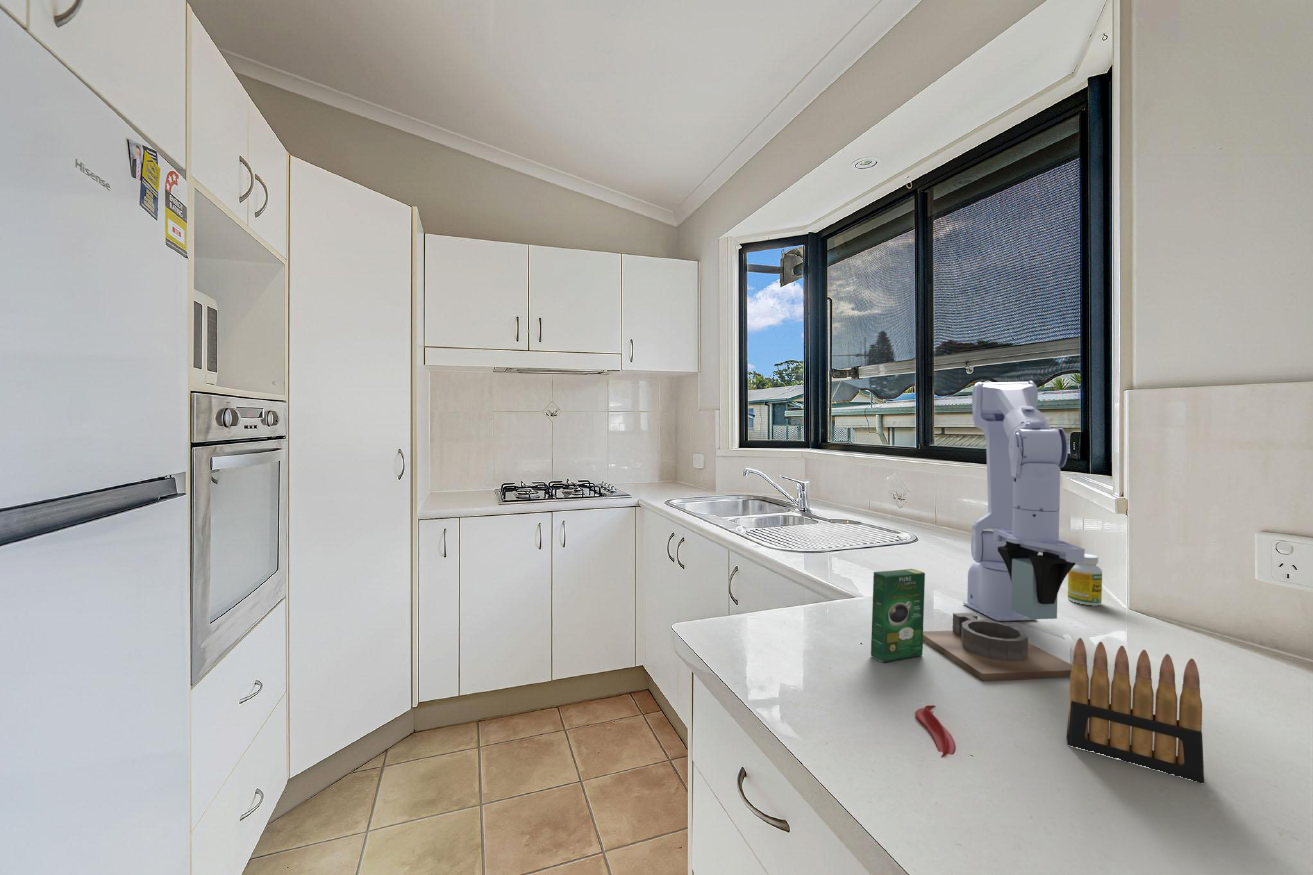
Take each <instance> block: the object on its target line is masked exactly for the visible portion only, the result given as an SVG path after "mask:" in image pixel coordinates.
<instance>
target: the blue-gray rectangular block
mask: <svg viewBox="0 0 1313 875" xmlns="http://www.w3.org/2000/svg"><path fill="white" fill-rule="evenodd" d="M1011 610H1012V611H1014V612H1017V613H1019V614H1021V615H1023V616H1025V617H1028V618H1030V619H1037V620H1048V619H1049V620H1053V619H1054V620H1055V619H1056V620H1057V619H1058V596H1057V597H1056V600H1055V603H1054V604H1040V603H1039V602H1038V598H1037V591H1036V577H1035V572H1034V569H1033V566H1032V563H1031V561H1030V559H1029V558H1015V559H1012V585H1011Z"/></svg>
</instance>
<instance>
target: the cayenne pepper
mask: <svg viewBox="0 0 1313 875" xmlns="http://www.w3.org/2000/svg"><path fill="white" fill-rule="evenodd" d="M935 707H936V705H934V704H933V705H925V706H924V707H921V708H918V709H917V710H916V711H914V714H915V718H916V719H917V721H918V722H919V723H920V724H921V725H922V726H923V727H924V728H925V730H927V731H928V733H929V734H930V735H931V737H932V740H933V741H934V744H935V746H936V748H937V751H938V752H939V753H942V754H941V756H940V758H943V757H945V756H947V755H951V756H953V755H954V754H955V750H956V742H955V740H954V738H953V736H952V734H951V733H950V732H949V731H948V729H947V728H946V727H944V726H943V724H942V723H941V722H940V720H939V719H938V718H937V717H936V716H935V715H934V711H933V710H932V709H935Z"/></svg>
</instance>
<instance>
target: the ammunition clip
mask: <svg viewBox="0 0 1313 875" xmlns="http://www.w3.org/2000/svg"><path fill="white" fill-rule="evenodd" d="M1105 647H1106V646H1105V645H1104V643H1103V642H1102V641H1099V642H1098V643H1097V645H1096V647H1095V651H1094V656H1093V662H1092V664H1093V665H1092V672H1091V675H1090V678H1089V674H1088V660H1087V657H1088V656H1087V649H1086V646H1085V642H1084V640H1083V638H1082V637H1079V638H1078V639H1077V641H1076V643H1075V645H1074V649H1073V653H1072V655H1073V656H1072V671H1071V674H1070V677H1069V697H1068V698H1069V702H1068V717H1067V727H1066V729H1067V730H1066V744H1067V746H1069V745H1070V746H1073V747H1078V748H1081V749H1085V750H1088V751H1094V752H1095V753H1100V754H1104V755H1106V756H1110V757H1113V758H1119V759H1121V760H1123V761H1126V762H1131V763H1135V764H1138V765H1142V766H1146V767H1149V768H1151V769H1155V770H1160V771H1163V772H1166V773H1168V774H1167V775H1169V774H1174V775H1175V776H1174V777H1176V776H1181V777H1183V778H1187V779H1191V780H1193V781H1192V782H1194V781H1197V782H1196V783H1198V782H1199V784H1201V783H1203V784H1205V768H1204V766H1205V765H1204V747H1203V746H1204V742H1203V730H1202V729H1203V701H1202V698H1201V688H1200V686H1201V685H1200V684H1201V683H1200V682H1201V680H1200V673H1199V668H1198V665H1197V663H1196V661H1195V659H1194V658H1190V659H1188V661H1187V663H1186V665H1185V667H1184V671H1183V677H1182V678H1183V679H1182V680H1183V681H1182V684H1181V686H1182V687H1181V694H1180V695H1179V696H1180V697H1179V706H1178V694H1177V689H1176V688H1177V687H1176V672H1175V671H1176V670H1175V666H1174V662H1173V659H1172V657H1171V655H1170V654H1168V653H1166V654H1165V655H1164V656H1163V658H1162V660H1161V663H1160V667H1159V673H1158V674H1159V677H1158V684H1157V688H1156V691H1155V694H1154V689H1153V682H1152V681H1153V679H1152V665H1151V660H1150V657H1149V654H1148V651H1147V650H1146V649H1142V650H1141V651H1140V654H1139V655H1138V658H1137V661H1136V668H1135V678H1134V683H1133V687H1132V685H1131V681H1130V678H1131V677H1130V663H1129V657H1128V652H1127V650H1126V648H1125V647H1124V645H1120V646H1119V648H1118V649H1117V651H1116V655H1115V659H1114V666H1113V667H1114V668H1113V676H1112V681H1111V683H1110V678H1109V669H1108V666H1109V665H1108V655H1107V649H1106V648H1105ZM1154 695H1155V700H1154ZM1154 701H1155V703H1154ZM1154 705H1155V708H1154ZM1178 707H1179V708H1178ZM1178 711H1179V712H1178ZM1070 746H1069V747H1070ZM1123 761H1122V762H1123ZM1126 762H1125V763H1126ZM1151 769H1150V770H1151ZM1155 770H1154V771H1155ZM1166 773H1165V774H1166ZM1183 778H1182V779H1183ZM1187 779H1186V780H1187ZM1191 780H1190V781H1191ZM1203 784H1202V785H1203Z"/></svg>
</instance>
